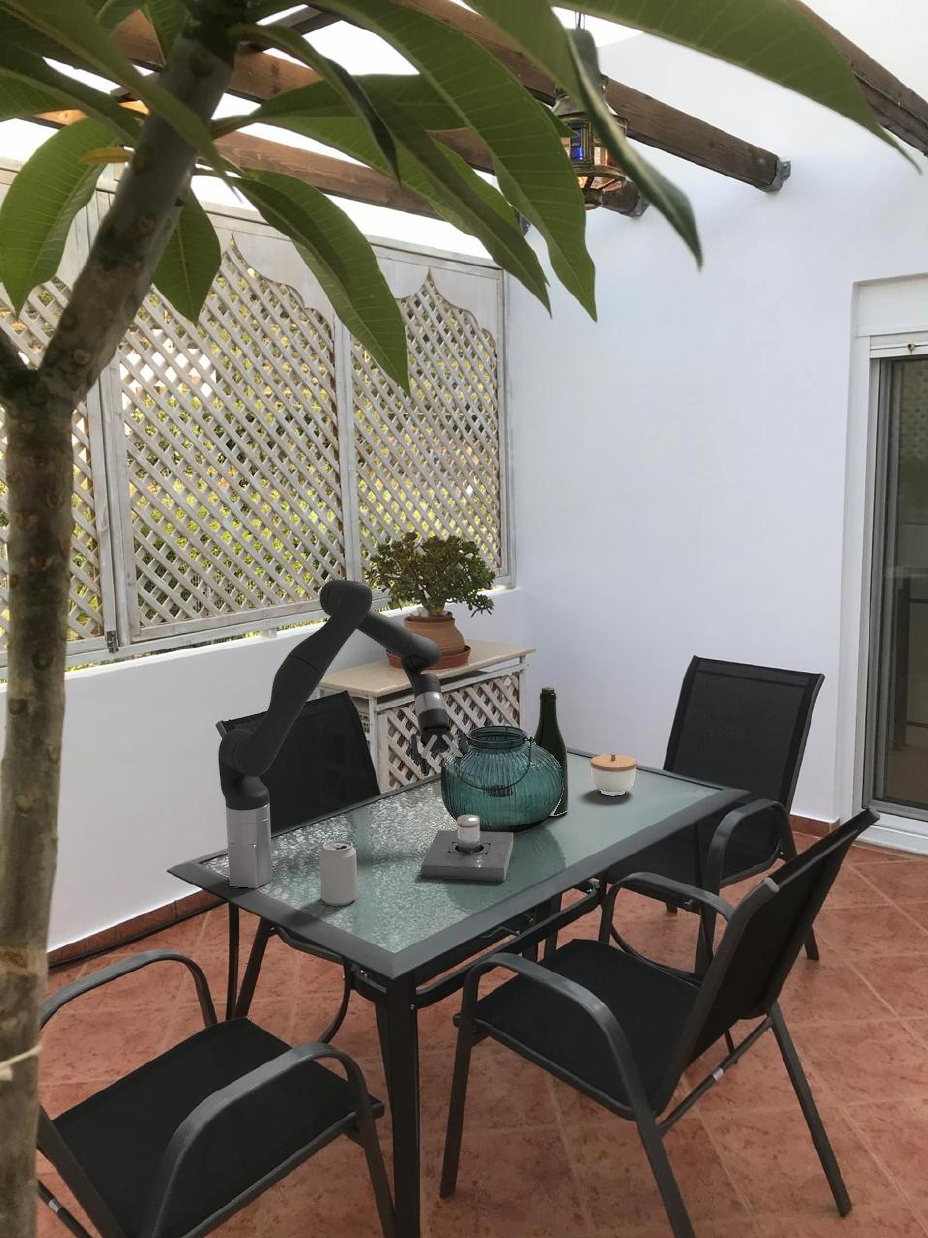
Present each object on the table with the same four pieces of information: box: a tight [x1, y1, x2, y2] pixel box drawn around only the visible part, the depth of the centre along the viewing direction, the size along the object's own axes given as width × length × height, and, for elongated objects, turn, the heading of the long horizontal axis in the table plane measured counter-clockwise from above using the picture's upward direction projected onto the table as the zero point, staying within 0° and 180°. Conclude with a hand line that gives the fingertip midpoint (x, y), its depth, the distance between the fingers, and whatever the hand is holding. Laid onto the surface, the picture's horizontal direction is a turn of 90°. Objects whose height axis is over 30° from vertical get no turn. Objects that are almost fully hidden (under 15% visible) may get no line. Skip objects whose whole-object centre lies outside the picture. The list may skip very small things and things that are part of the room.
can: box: [318, 839, 358, 907], centre depth 199 cm, size 8×8×12 cm
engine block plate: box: [421, 829, 514, 882], centre depth 220 cm, size 22×18×3 cm
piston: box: [456, 814, 481, 854], centre depth 220 cm, size 5×5×10 cm
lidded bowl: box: [590, 752, 637, 792], centre depth 268 cm, size 13×13×11 cm
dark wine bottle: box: [532, 686, 570, 815], centre depth 251 cm, size 10×10×33 cm
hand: (443, 774), depth 230 cm, fingers open, 8 cm apart
